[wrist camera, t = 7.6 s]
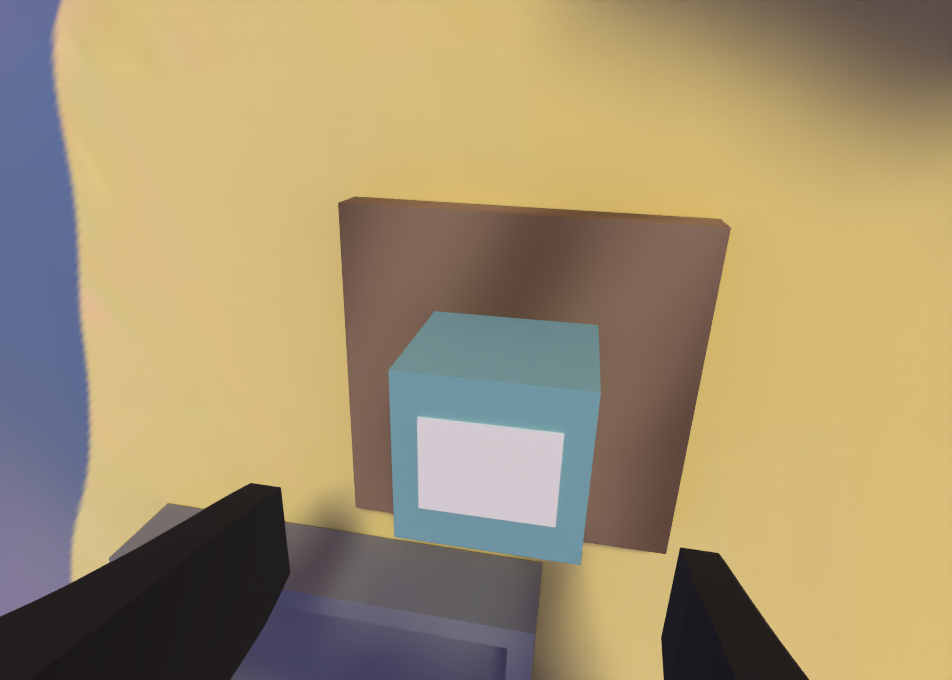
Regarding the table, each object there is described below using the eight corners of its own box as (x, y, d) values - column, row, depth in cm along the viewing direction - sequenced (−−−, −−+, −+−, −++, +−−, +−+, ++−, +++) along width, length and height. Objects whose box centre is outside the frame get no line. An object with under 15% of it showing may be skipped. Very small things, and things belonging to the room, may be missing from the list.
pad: (720, 218, 15) (730, 227, 14) (661, 528, 19) (665, 554, 18) (354, 196, 16) (338, 202, 15) (368, 485, 20) (355, 507, 19)
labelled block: (598, 325, 15) (600, 394, 12) (582, 467, 17) (580, 568, 13) (434, 311, 16) (387, 372, 12) (434, 449, 18) (393, 539, 14)
